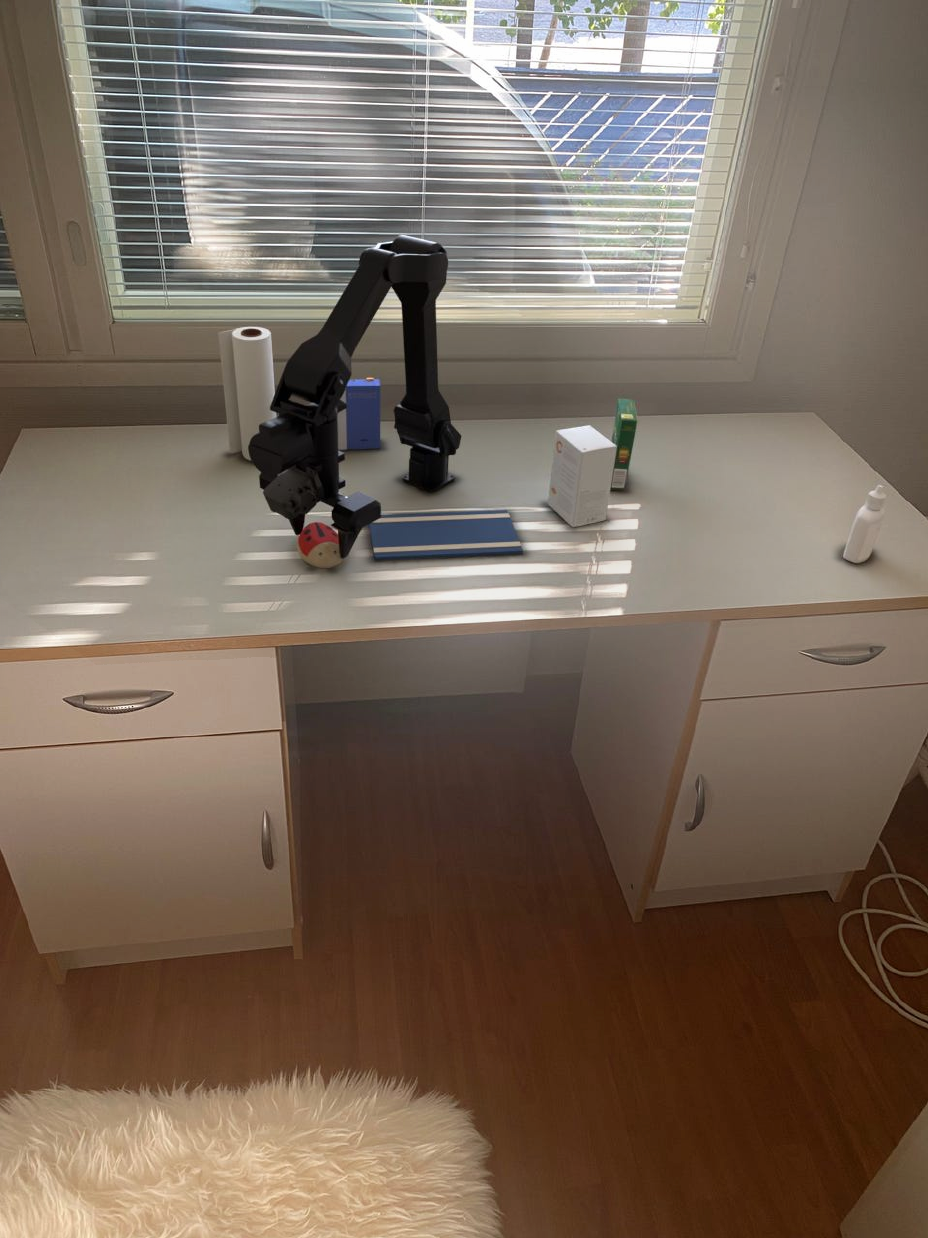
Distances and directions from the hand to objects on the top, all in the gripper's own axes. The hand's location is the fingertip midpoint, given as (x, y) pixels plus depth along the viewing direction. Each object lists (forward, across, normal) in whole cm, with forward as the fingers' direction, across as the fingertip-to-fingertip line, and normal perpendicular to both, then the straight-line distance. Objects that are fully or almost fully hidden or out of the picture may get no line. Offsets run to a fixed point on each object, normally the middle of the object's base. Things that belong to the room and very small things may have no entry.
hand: (321, 545), depth 141 cm
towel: (+1, +10, +16) cm, 19 cm away
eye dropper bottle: (+2, +60, +55) cm, 81 cm away
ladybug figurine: (+2, 0, 0) cm, 2 cm away
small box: (+2, +21, +36) cm, 42 cm away
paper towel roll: (+2, -30, +15) cm, 34 cm away
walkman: (+2, -20, +29) cm, 35 cm away
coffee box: (+2, +20, +50) cm, 54 cm away
